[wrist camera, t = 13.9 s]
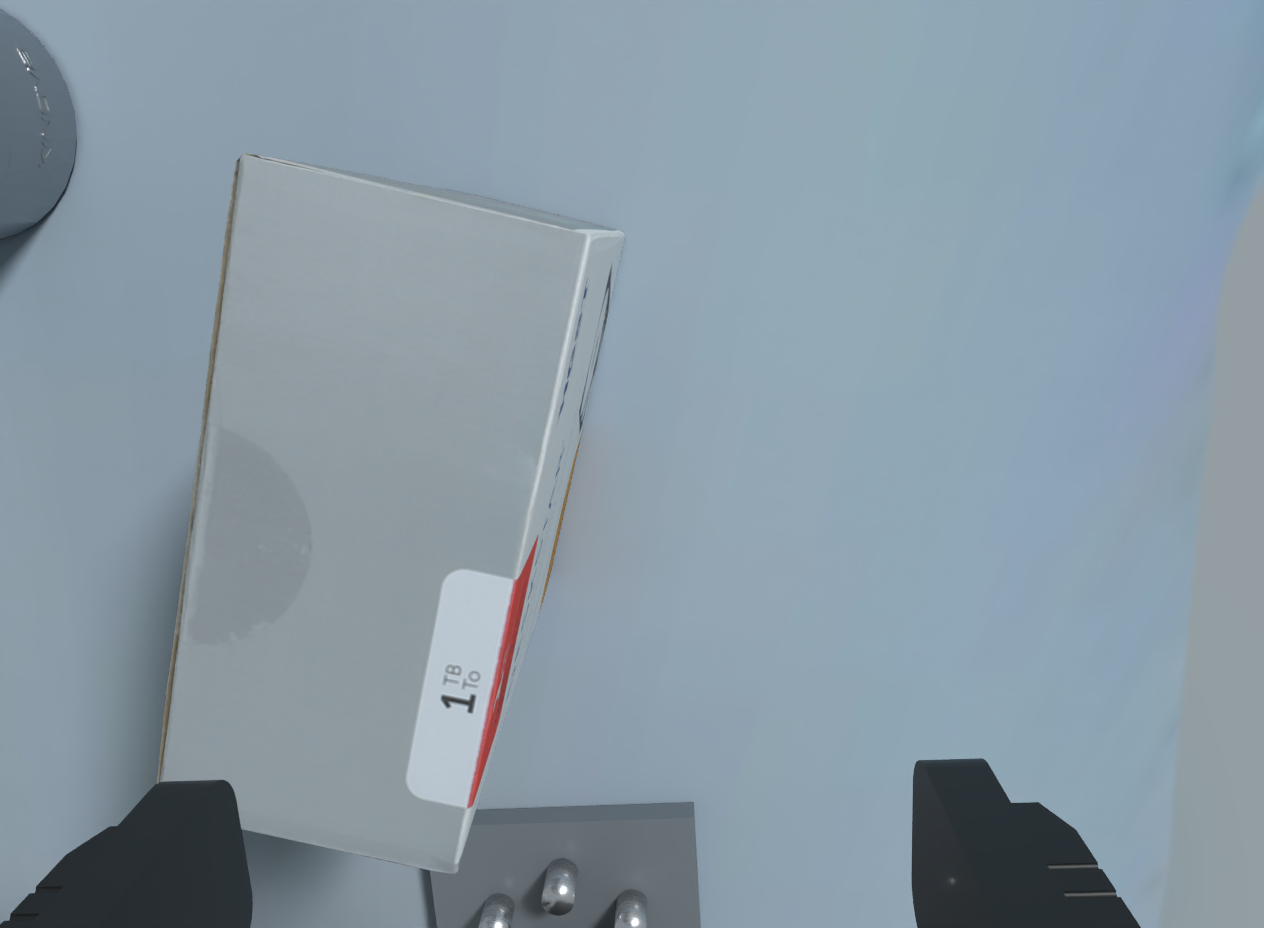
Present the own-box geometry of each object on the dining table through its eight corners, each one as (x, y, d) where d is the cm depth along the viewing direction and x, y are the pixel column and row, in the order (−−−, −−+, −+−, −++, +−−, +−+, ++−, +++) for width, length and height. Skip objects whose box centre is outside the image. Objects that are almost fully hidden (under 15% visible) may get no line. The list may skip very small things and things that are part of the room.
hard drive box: (552, 588, 43) (453, 893, 24) (377, 549, 43) (134, 822, 23) (632, 225, 39) (593, 233, 20) (440, 180, 39) (213, 144, 20)
